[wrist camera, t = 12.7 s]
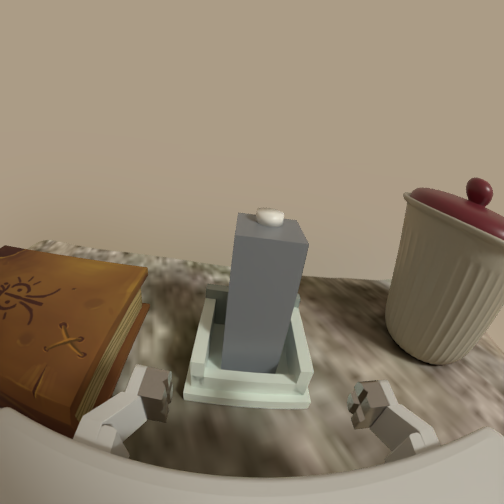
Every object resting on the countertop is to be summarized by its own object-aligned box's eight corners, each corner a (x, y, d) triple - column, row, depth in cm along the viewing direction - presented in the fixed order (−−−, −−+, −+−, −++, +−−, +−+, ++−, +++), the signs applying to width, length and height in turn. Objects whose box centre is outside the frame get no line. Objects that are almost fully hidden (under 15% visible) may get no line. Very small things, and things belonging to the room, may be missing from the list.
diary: (-62, 362, 11) (-84, 319, 8) (13, 282, 28) (4, 245, 25) (94, 455, 12) (64, 415, 10) (150, 310, 30) (147, 265, 27)
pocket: (183, 399, 19) (181, 358, 17) (201, 318, 29) (203, 279, 27) (307, 408, 20) (326, 370, 18) (292, 328, 30) (302, 290, 28)
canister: (343, 300, 36) (383, 146, 28) (432, 300, 39) (471, 180, 30) (402, 402, 20) (505, 176, 12) (493, 370, 22) (562, 221, 14)
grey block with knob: (220, 370, 21) (236, 222, 16) (224, 333, 26) (239, 202, 21) (274, 375, 22) (311, 232, 17) (271, 337, 26) (298, 210, 21)
